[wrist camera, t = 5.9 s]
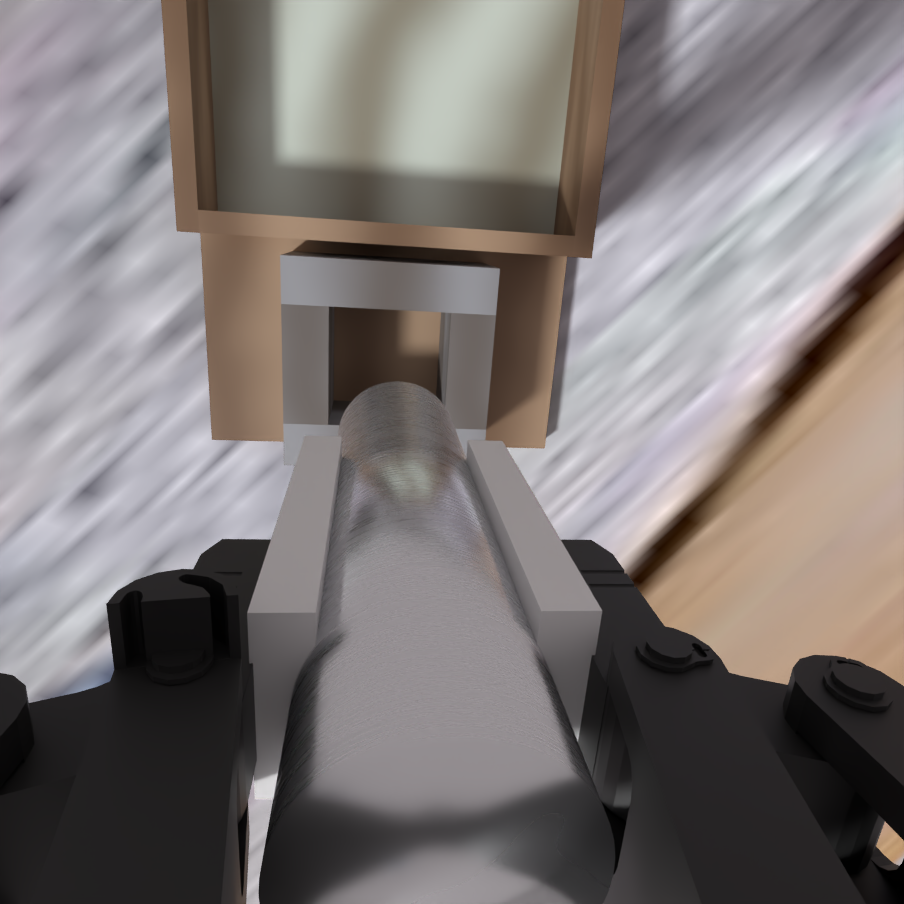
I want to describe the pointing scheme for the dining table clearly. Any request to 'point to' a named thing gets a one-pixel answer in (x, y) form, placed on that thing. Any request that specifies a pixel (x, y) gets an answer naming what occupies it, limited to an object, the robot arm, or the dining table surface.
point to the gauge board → (386, 200)
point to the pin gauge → (426, 700)
